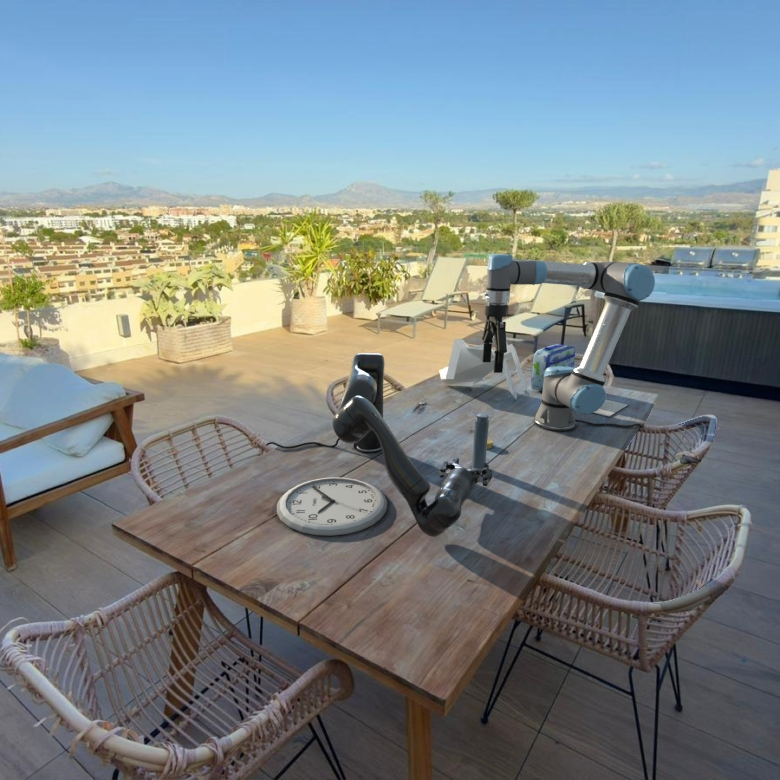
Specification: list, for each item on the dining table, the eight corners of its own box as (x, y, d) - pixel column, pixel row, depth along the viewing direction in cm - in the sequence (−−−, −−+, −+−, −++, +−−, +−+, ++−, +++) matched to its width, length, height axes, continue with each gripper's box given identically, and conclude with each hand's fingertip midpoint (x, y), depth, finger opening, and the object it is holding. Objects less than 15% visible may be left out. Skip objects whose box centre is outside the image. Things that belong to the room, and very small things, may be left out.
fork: (410, 411, 216) (410, 407, 215) (421, 400, 230) (421, 396, 229) (416, 412, 215) (416, 408, 214) (427, 401, 229) (427, 396, 228)
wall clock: (392, 527, 129) (268, 531, 127) (391, 533, 130) (269, 537, 127) (383, 473, 158) (282, 475, 155) (383, 478, 158) (282, 480, 156)
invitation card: (608, 416, 214) (573, 407, 224) (608, 416, 214) (573, 408, 224) (628, 404, 229) (594, 396, 238) (628, 405, 229) (594, 397, 238)
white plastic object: (461, 429, 252) (437, 405, 227) (444, 352, 274) (420, 323, 250) (535, 404, 240) (518, 377, 215) (510, 326, 262) (492, 293, 237)
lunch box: (547, 396, 238) (552, 351, 232) (526, 391, 246) (531, 347, 239) (574, 385, 256) (579, 343, 250) (554, 380, 263) (559, 340, 257)
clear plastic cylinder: (482, 472, 164) (486, 418, 158) (469, 469, 166) (473, 416, 160) (487, 467, 167) (491, 414, 162) (474, 464, 169) (478, 412, 164)
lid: (490, 449, 180) (490, 444, 180) (475, 447, 182) (476, 442, 182) (494, 444, 185) (494, 439, 184) (480, 442, 187) (480, 437, 186)
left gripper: (431, 494, 144) (448, 470, 159) (482, 504, 139) (494, 479, 154) (432, 469, 142) (449, 447, 156) (484, 479, 137) (496, 455, 151)
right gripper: (475, 298, 180) (471, 358, 187) (496, 309, 157) (491, 377, 163) (497, 298, 181) (492, 358, 187) (521, 309, 157) (514, 377, 164)
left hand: (471, 463), depth 155 cm, fingers open, 8 cm apart
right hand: (492, 367), depth 175 cm, fingers open, 13 cm apart
